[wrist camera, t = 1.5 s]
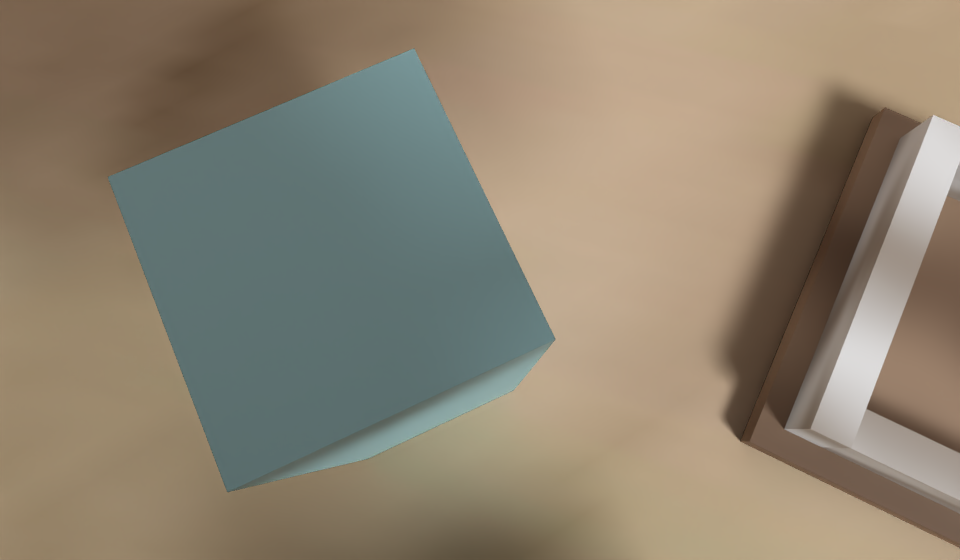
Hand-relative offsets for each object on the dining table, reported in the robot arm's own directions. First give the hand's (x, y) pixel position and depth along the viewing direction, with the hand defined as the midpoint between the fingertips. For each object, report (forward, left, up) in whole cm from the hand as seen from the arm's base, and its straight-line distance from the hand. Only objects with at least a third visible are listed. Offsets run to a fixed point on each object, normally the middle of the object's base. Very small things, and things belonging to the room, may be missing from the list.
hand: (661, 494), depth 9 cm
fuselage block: (-1, +6, -14) cm, 15 cm away
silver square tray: (+12, -7, -14) cm, 20 cm away
